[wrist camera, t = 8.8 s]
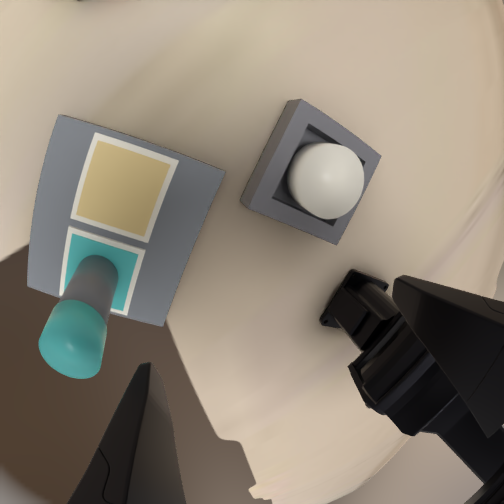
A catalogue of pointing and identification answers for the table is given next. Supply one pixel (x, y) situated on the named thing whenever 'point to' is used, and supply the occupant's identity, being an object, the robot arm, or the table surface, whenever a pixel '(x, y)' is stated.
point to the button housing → (278, 160)
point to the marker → (81, 320)
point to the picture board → (118, 214)
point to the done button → (325, 179)
